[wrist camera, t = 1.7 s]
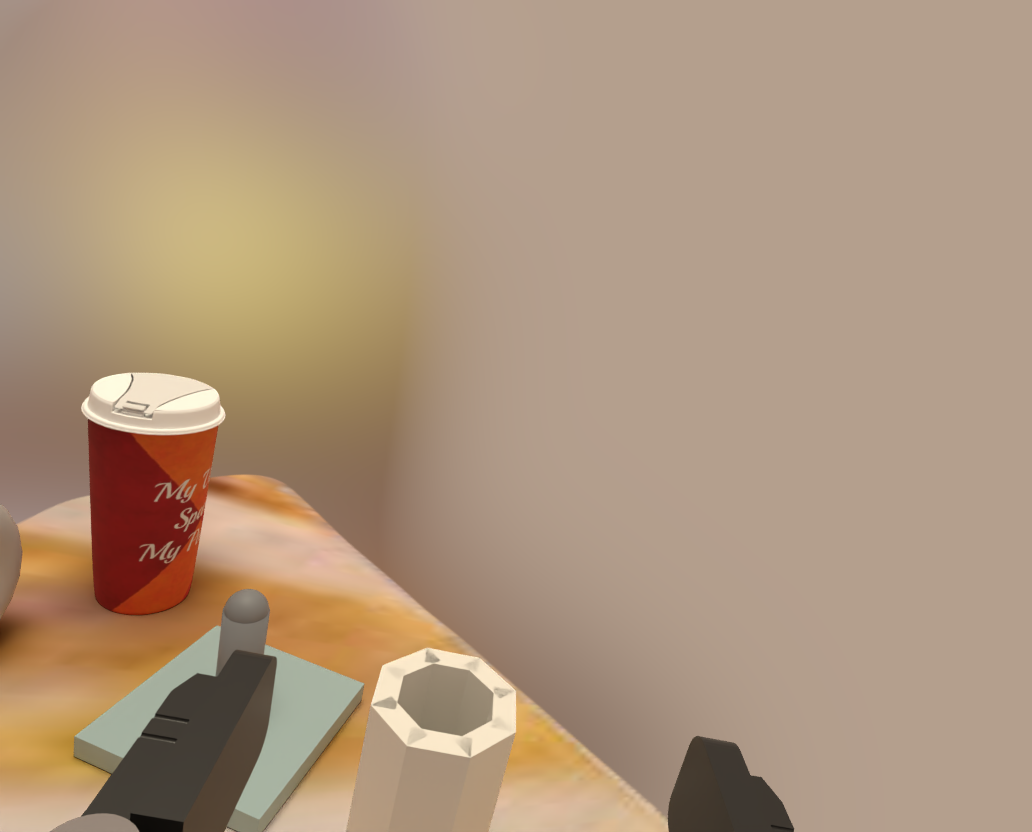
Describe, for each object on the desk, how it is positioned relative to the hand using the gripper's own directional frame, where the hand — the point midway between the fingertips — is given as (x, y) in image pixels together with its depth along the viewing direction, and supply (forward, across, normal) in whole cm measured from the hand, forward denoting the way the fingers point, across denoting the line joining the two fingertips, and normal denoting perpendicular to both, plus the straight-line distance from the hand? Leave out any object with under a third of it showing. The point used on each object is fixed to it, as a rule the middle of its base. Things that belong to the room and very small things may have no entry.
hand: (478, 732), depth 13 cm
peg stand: (+19, +10, +20) cm, 29 cm away
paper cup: (+29, +20, +20) cm, 41 cm away
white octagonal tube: (+11, 0, +20) cm, 23 cm away
